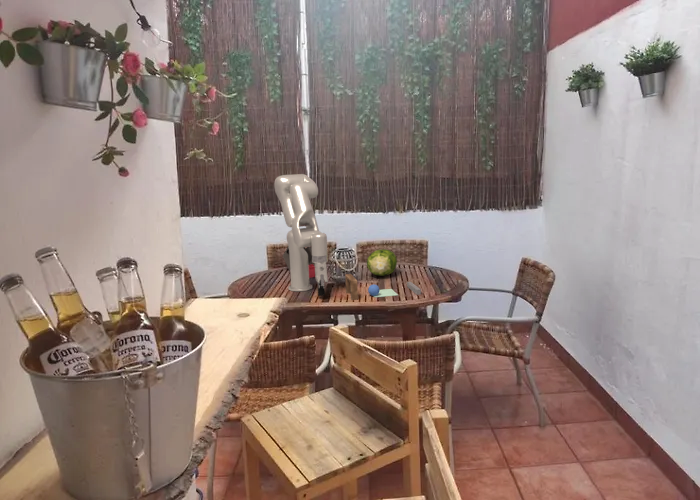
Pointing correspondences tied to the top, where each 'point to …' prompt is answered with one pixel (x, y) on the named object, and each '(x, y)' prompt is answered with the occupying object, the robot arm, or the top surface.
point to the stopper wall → (414, 288)
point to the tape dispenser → (311, 270)
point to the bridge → (351, 286)
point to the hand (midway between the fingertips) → (321, 295)
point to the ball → (373, 290)
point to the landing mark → (386, 293)
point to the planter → (287, 256)
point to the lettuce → (382, 262)
